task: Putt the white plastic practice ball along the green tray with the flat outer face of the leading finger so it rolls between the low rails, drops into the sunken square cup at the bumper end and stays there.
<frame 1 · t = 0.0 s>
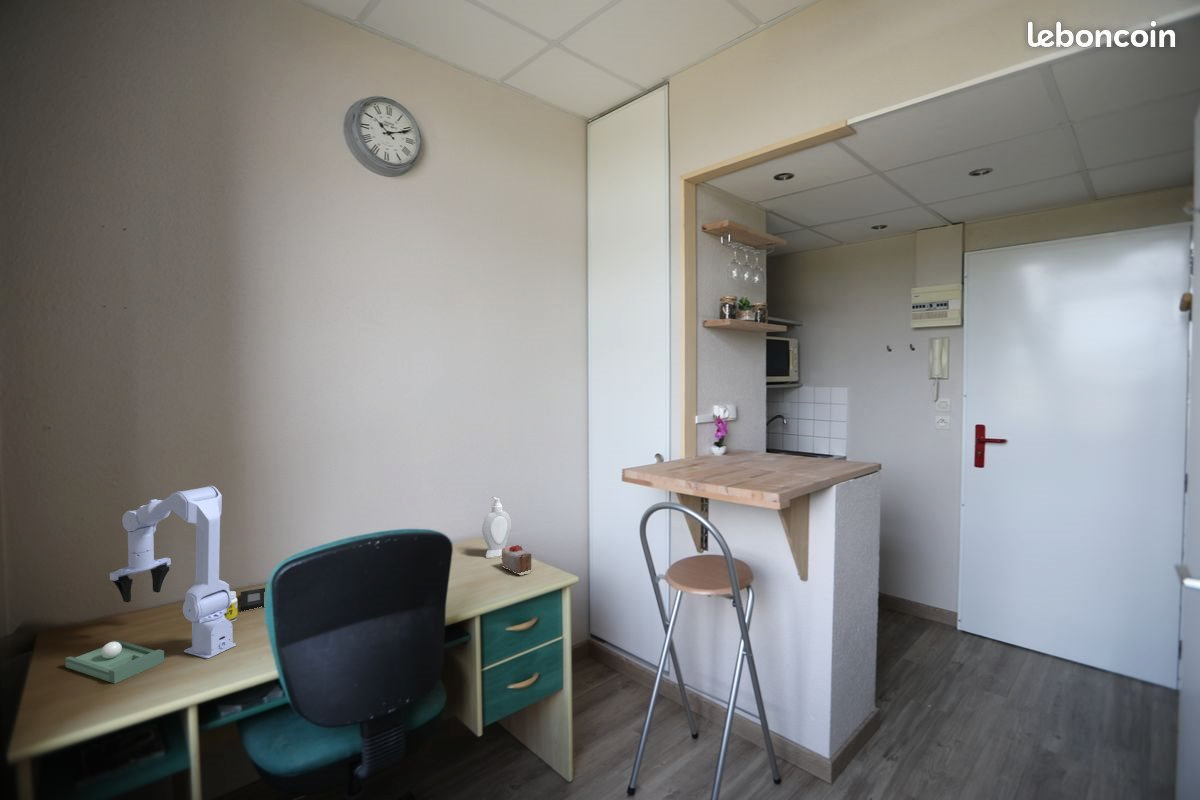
hand: (142, 596, 160), 10 cm above the table, fingers open, 7 cm apart
food item: (516, 570, 216), on the table
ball: (111, 650, 143), point 3 cm above the table, touching green tray
green tray: (115, 664, 142), on the table
supplement bottle: (228, 621, 168), on the table
soap bottle: (495, 555, 233), on the table
vhs tape: (254, 603, 183), on the table
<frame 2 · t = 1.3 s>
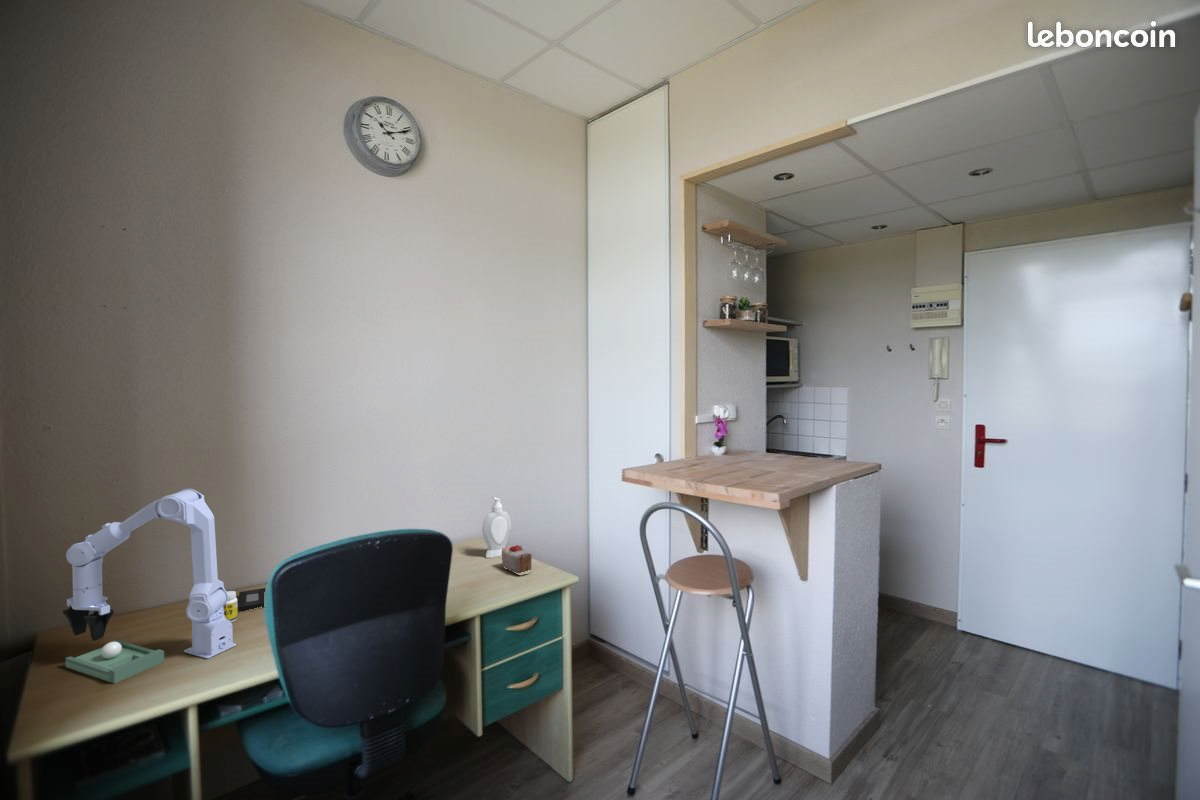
hand: (88, 636, 146), 5 cm above the table, fingers open, 7 cm apart
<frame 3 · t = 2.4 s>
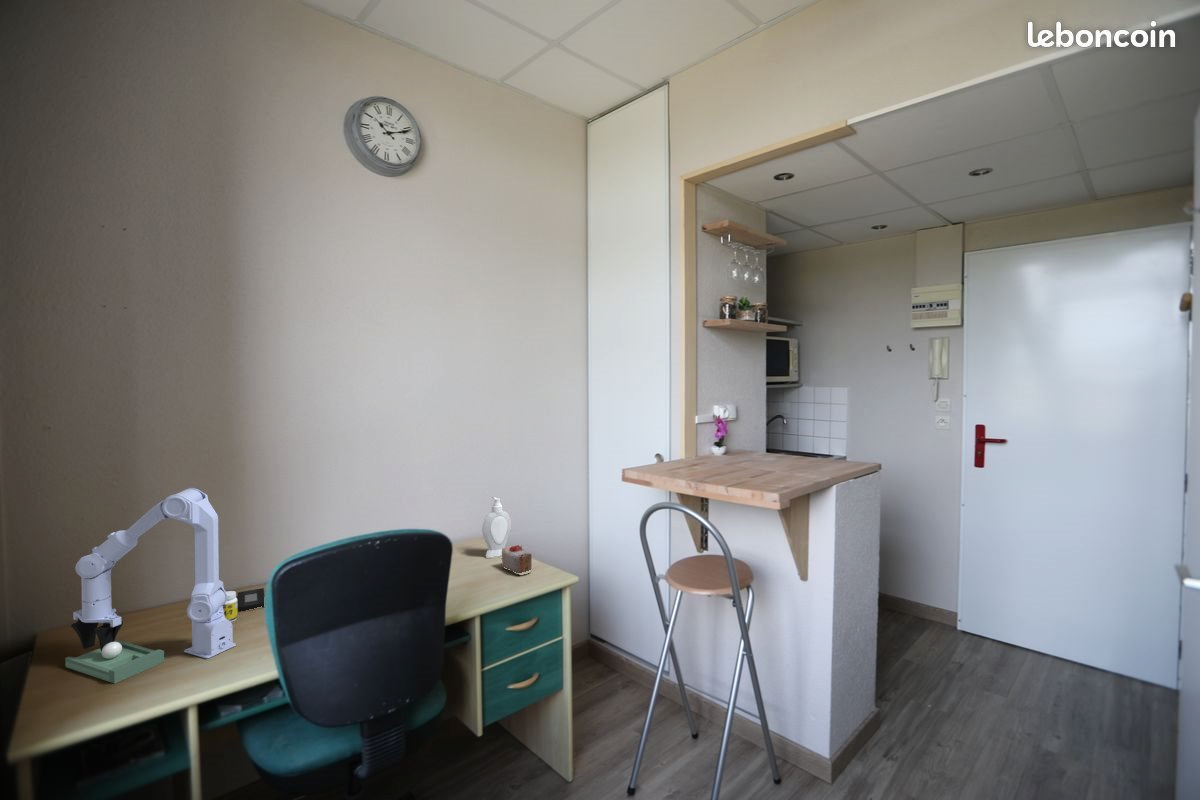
hand: (97, 649, 145), 3 cm above the table, fingers open, 6 cm apart
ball: (111, 650, 143), point 3 cm above the table, touching gripper, green tray
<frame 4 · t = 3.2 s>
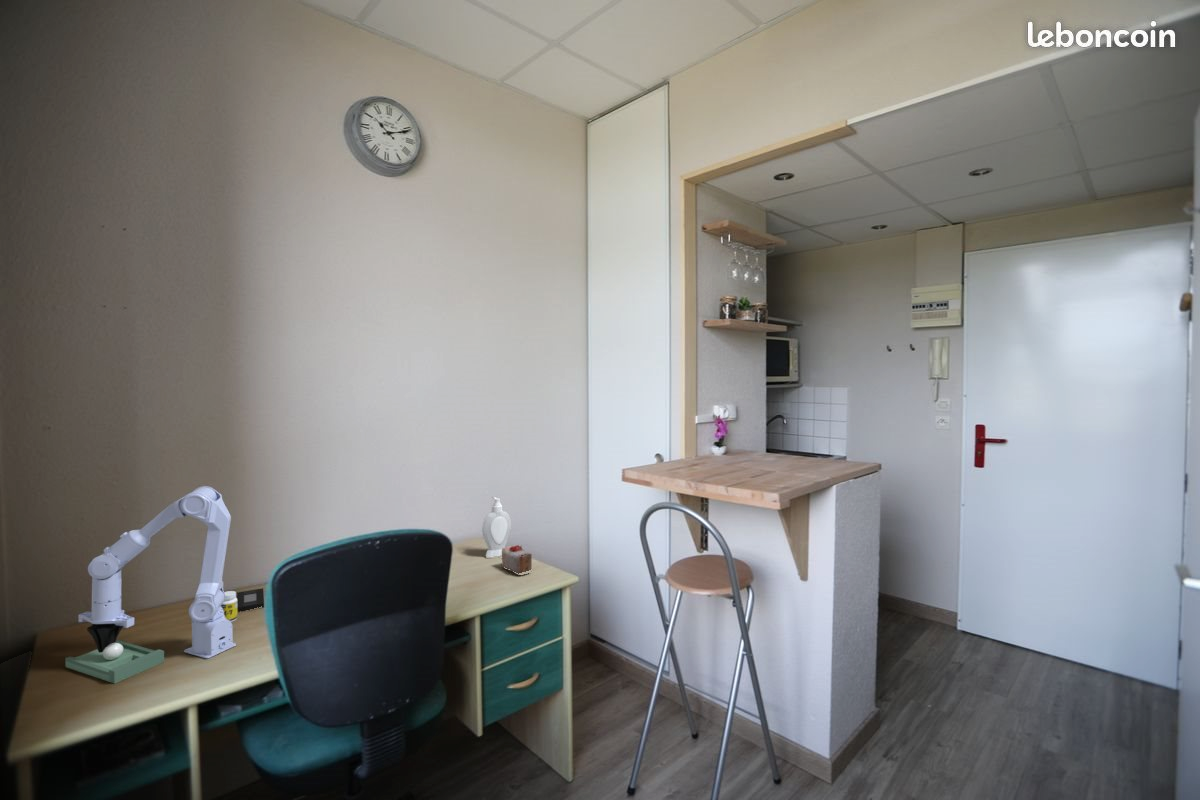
hand: (105, 651, 143), 3 cm above the table, fingers closed
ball: (113, 651, 142), point 3 cm above the table, tilted 29°, touching gripper, green tray
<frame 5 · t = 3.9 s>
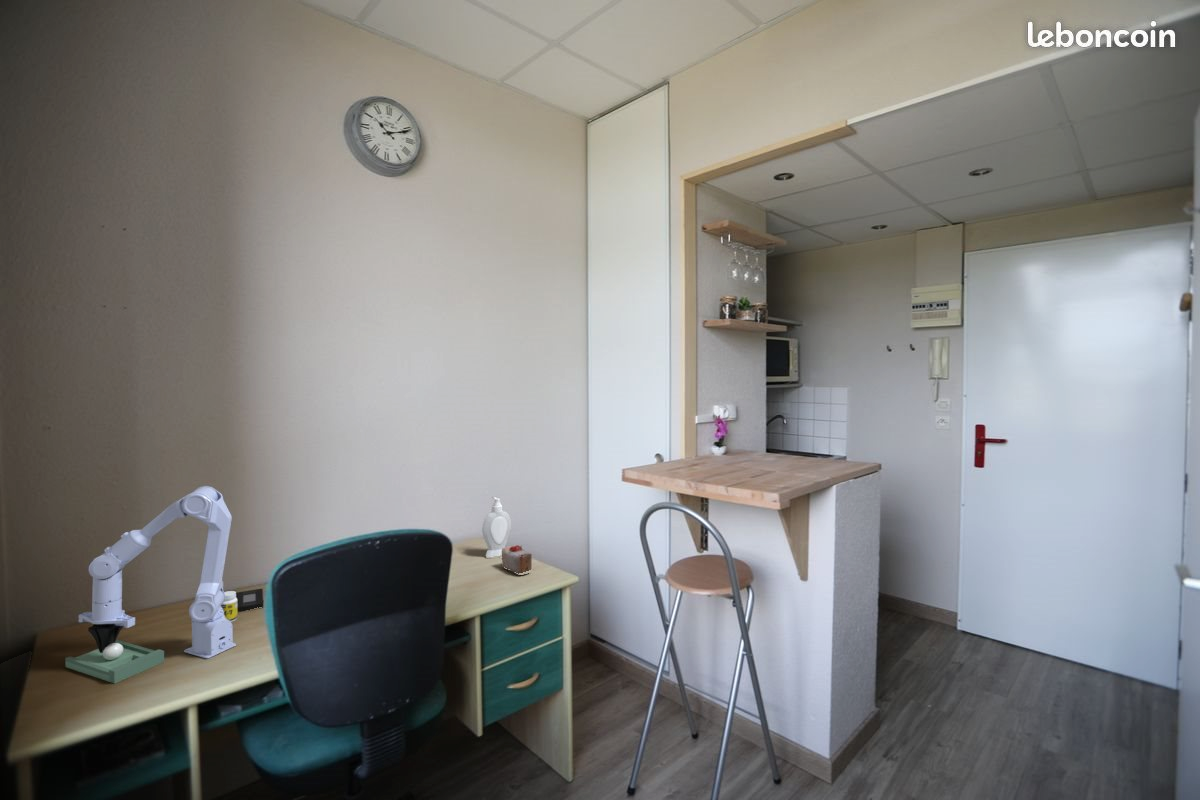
hand: (106, 651, 143), 3 cm above the table, fingers closed
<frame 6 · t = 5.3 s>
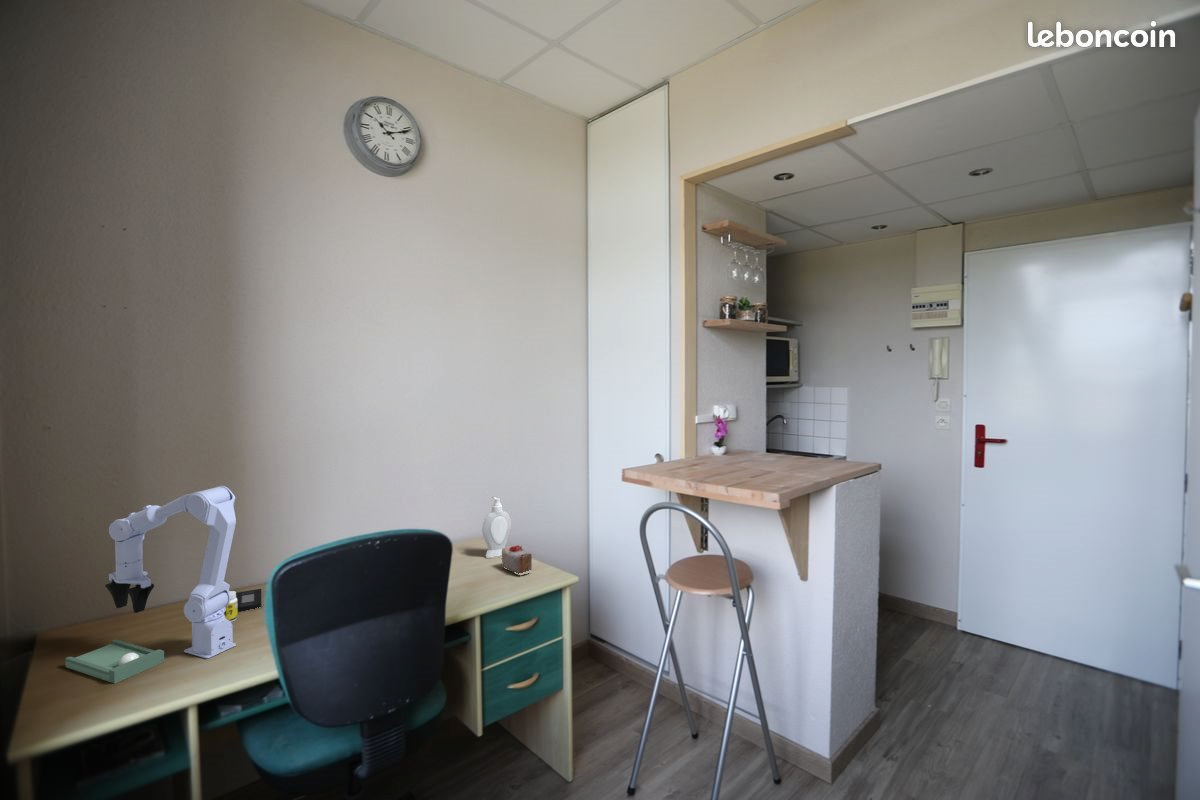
hand: (130, 609, 152), 10 cm above the table, fingers open, 7 cm apart
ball: (129, 661, 140), point 2 cm above the table, tilted 134°
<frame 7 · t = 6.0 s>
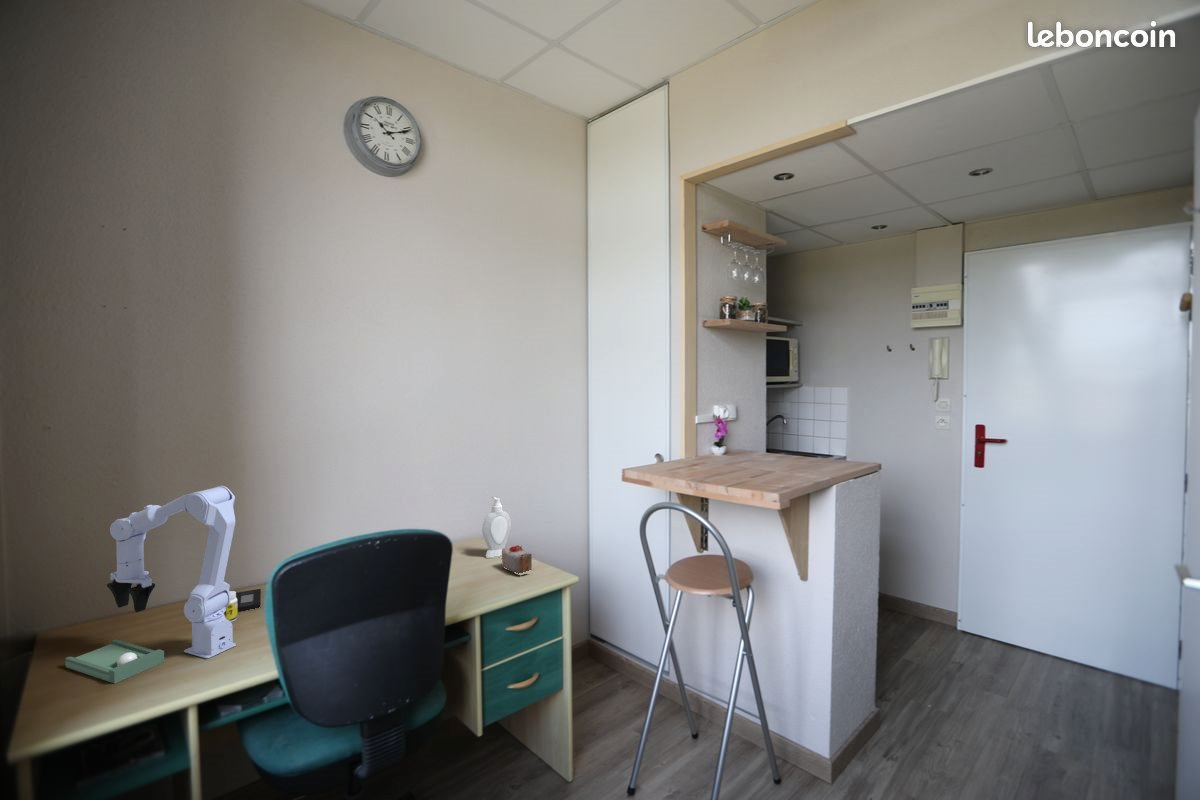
hand: (131, 608, 153), 10 cm above the table, fingers open, 7 cm apart
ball: (127, 660, 140), point 2 cm above the table, tilted 148°
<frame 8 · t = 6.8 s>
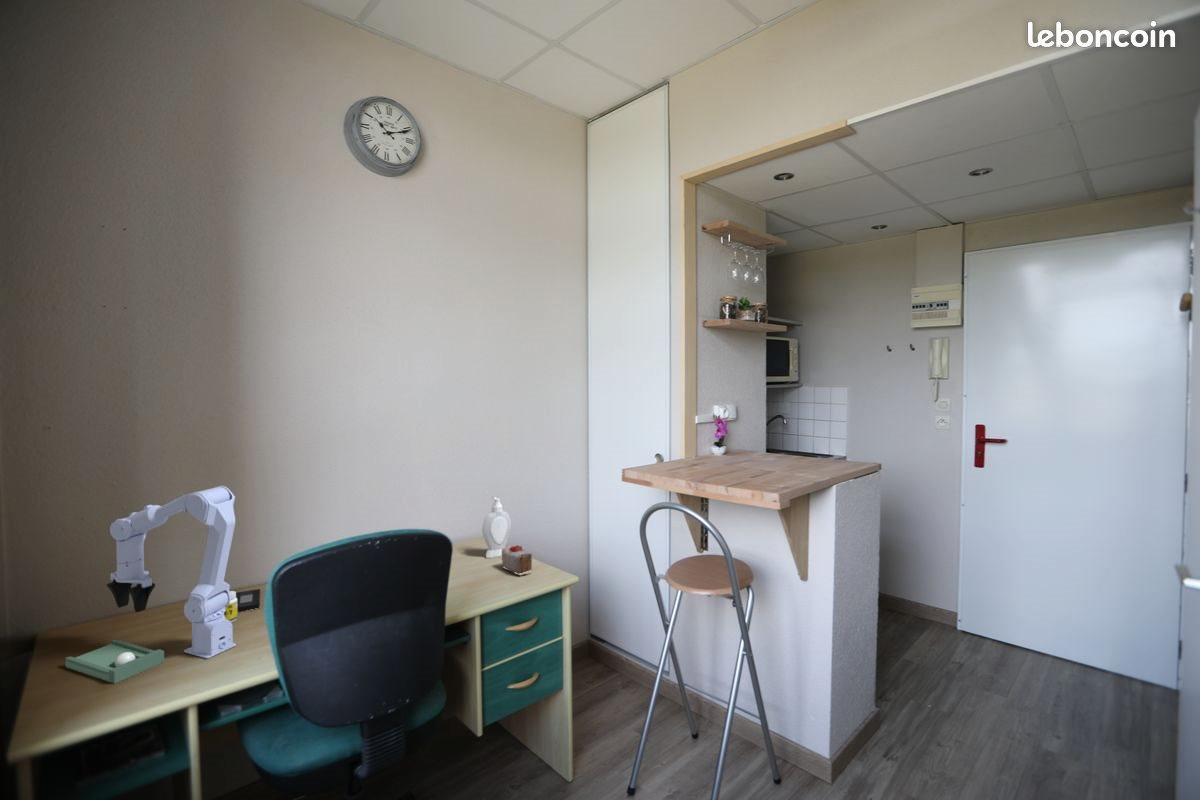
hand: (131, 608, 153), 10 cm above the table, fingers open, 7 cm apart
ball: (125, 660, 140), point 2 cm above the table, tilted 157°
at the end: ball 0.6 cm from the target spot on the green tray, point 2.0 cm above the green tray's base; the gripper is holding nothing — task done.
